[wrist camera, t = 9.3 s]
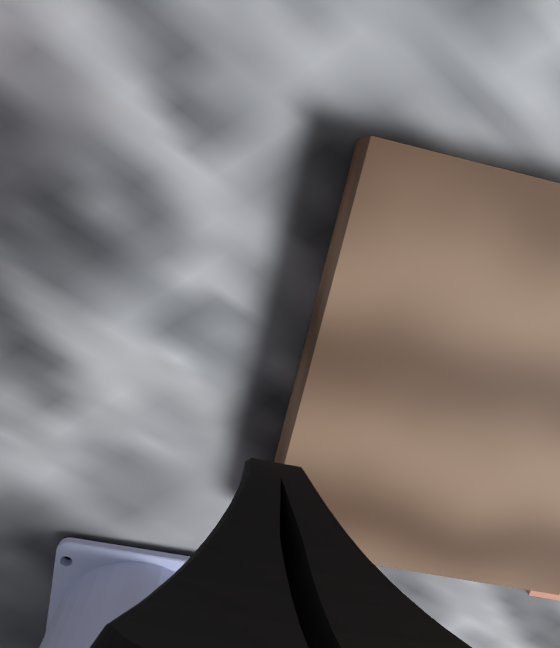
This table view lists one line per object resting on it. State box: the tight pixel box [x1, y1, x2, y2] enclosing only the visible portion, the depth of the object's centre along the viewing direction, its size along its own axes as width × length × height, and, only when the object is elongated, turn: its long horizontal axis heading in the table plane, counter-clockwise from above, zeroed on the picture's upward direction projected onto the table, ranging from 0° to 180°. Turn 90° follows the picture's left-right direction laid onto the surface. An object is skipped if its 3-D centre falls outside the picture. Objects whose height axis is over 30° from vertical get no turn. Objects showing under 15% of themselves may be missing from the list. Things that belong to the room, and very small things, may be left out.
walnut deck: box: [274, 136, 560, 595], centre depth 21 cm, size 16×13×2 cm
